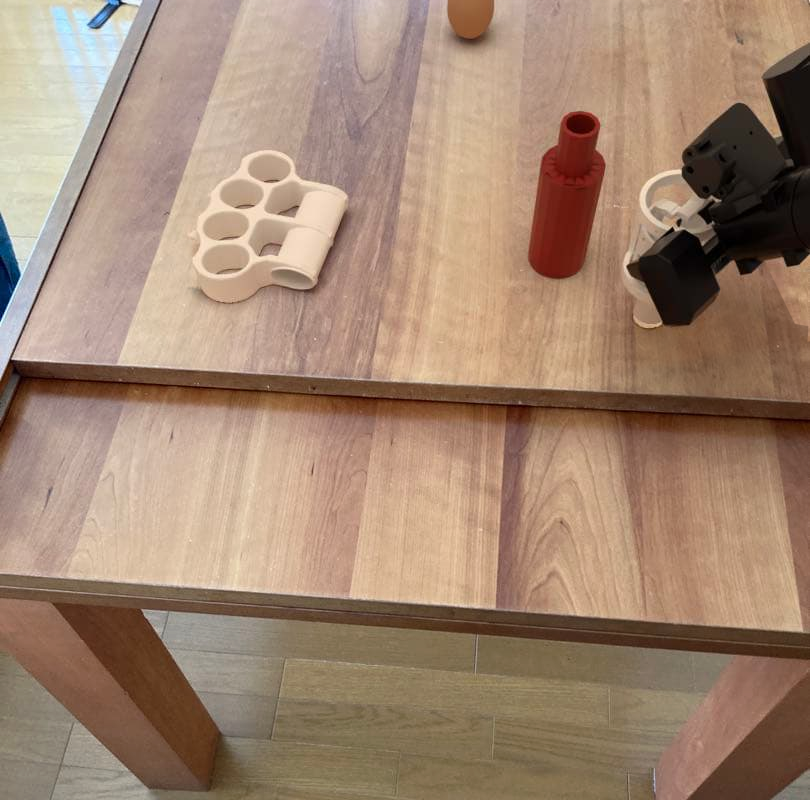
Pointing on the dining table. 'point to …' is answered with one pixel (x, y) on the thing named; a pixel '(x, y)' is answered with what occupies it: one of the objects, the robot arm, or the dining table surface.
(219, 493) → the dining table surface
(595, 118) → the sauce bottle
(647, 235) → the cream cylindrical cage part
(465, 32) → the egg
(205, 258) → the knuckle duster
